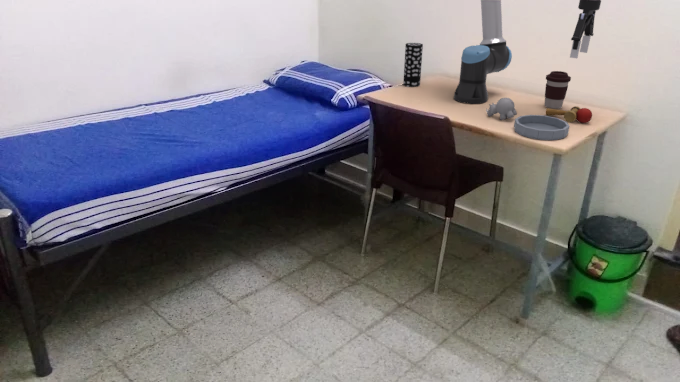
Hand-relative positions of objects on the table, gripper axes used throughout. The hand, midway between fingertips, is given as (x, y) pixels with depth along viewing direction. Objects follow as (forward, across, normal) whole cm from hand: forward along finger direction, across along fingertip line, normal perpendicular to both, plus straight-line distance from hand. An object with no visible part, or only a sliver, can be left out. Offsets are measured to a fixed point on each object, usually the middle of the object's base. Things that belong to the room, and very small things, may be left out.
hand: (578, 55), depth 208 cm
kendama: (+25, -6, -2) cm, 26 cm away
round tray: (+24, -28, +1) cm, 38 cm away
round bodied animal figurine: (+25, -22, +20) cm, 39 cm away
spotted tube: (+26, +2, +76) cm, 80 cm away
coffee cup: (+25, +8, +8) cm, 27 cm away
